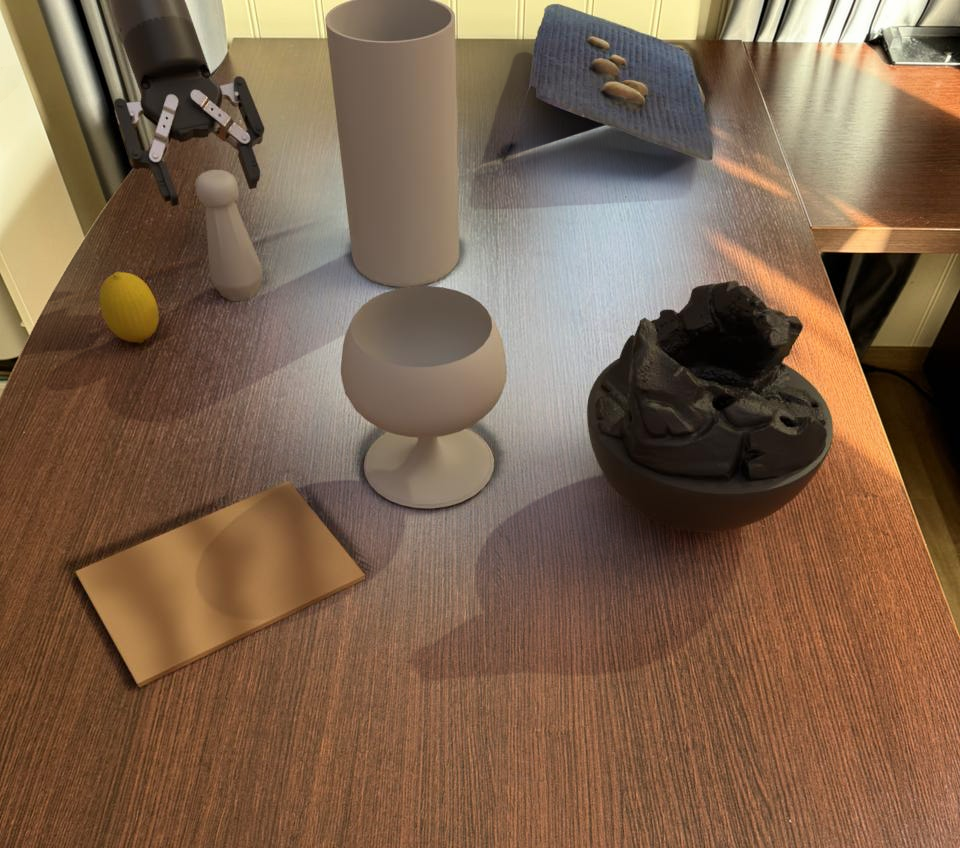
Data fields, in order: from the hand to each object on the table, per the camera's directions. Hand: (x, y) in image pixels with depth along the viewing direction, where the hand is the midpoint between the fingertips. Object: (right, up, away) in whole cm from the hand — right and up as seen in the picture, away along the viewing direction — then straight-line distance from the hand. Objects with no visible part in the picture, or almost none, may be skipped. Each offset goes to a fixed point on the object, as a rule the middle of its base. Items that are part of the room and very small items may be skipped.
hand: (215, 194), depth 98 cm
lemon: (-8, -16, +1) cm, 18 cm away
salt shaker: (+1, -8, +7) cm, 11 cm away
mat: (+47, +30, +37) cm, 67 cm away
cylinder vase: (+19, -3, +11) cm, 23 cm away
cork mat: (+6, -42, -20) cm, 47 cm away
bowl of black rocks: (+47, -35, -14) cm, 60 cm away
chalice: (+23, -31, -11) cm, 40 cm away
